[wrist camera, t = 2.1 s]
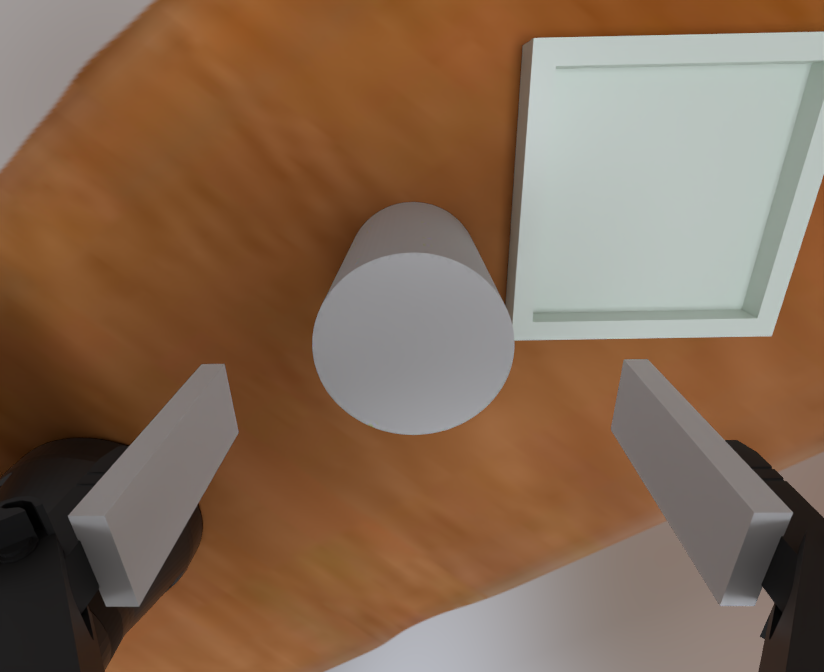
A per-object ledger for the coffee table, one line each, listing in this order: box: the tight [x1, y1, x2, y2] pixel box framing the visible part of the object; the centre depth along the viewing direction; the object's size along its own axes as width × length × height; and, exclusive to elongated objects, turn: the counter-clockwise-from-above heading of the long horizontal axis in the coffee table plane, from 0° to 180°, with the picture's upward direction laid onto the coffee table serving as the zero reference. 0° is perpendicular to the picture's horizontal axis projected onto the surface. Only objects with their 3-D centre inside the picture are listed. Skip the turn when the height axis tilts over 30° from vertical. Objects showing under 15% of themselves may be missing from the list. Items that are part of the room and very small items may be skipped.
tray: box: [505, 32, 824, 340], centre depth 27 cm, size 16×16×2 cm
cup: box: [312, 202, 514, 435], centre depth 25 cm, size 8×8×12 cm
